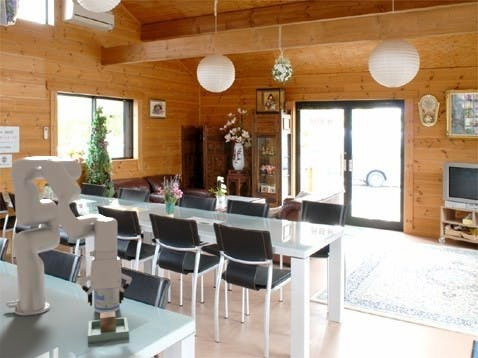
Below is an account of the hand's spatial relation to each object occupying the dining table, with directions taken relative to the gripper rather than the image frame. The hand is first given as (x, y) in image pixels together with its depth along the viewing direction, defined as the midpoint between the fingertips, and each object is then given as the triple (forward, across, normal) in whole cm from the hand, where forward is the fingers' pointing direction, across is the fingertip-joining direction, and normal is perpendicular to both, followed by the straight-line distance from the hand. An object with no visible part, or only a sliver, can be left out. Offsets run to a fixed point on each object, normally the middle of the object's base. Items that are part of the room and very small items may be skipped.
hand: (105, 303), depth 162 cm
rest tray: (+10, +1, -1) cm, 10 cm away
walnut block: (+10, +1, -1) cm, 10 cm away
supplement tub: (+11, +1, +22) cm, 25 cm away
